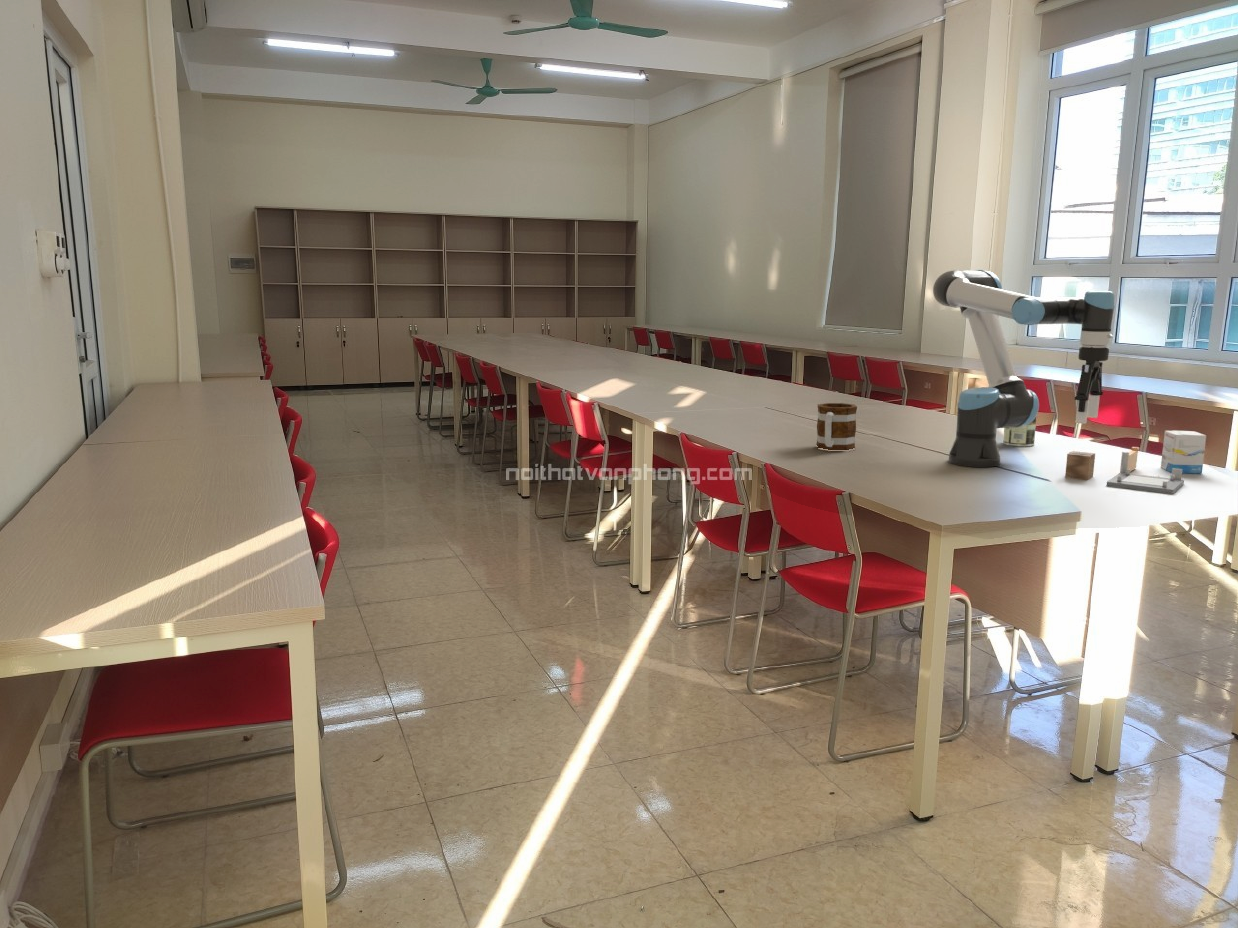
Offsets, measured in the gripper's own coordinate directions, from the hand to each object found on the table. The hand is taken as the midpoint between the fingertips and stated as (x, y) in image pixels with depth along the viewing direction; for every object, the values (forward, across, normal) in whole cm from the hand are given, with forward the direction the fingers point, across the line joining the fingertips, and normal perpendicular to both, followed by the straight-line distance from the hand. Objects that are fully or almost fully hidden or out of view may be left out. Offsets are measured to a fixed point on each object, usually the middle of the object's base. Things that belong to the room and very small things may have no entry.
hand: (1086, 420), depth 258 cm
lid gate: (+16, +16, -10) cm, 25 cm away
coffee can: (+17, +46, +30) cm, 58 cm away
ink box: (+17, +28, -22) cm, 39 cm away
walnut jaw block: (+17, -1, 0) cm, 17 cm away
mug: (+18, -4, +76) cm, 78 cm away
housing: (+16, 0, -17) cm, 23 cm away
